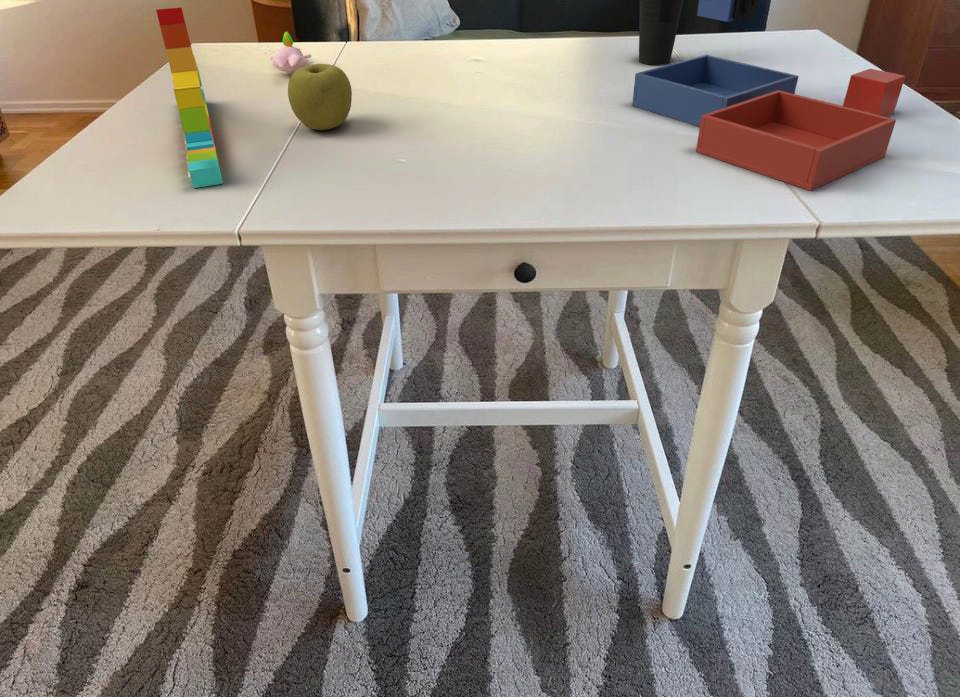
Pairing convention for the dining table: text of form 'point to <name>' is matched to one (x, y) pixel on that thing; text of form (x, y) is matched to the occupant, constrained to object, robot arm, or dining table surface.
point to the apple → (320, 96)
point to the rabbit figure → (289, 57)
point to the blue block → (716, 9)
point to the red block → (874, 91)
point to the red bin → (795, 138)
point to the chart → (190, 100)
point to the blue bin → (705, 86)
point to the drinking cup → (658, 30)
